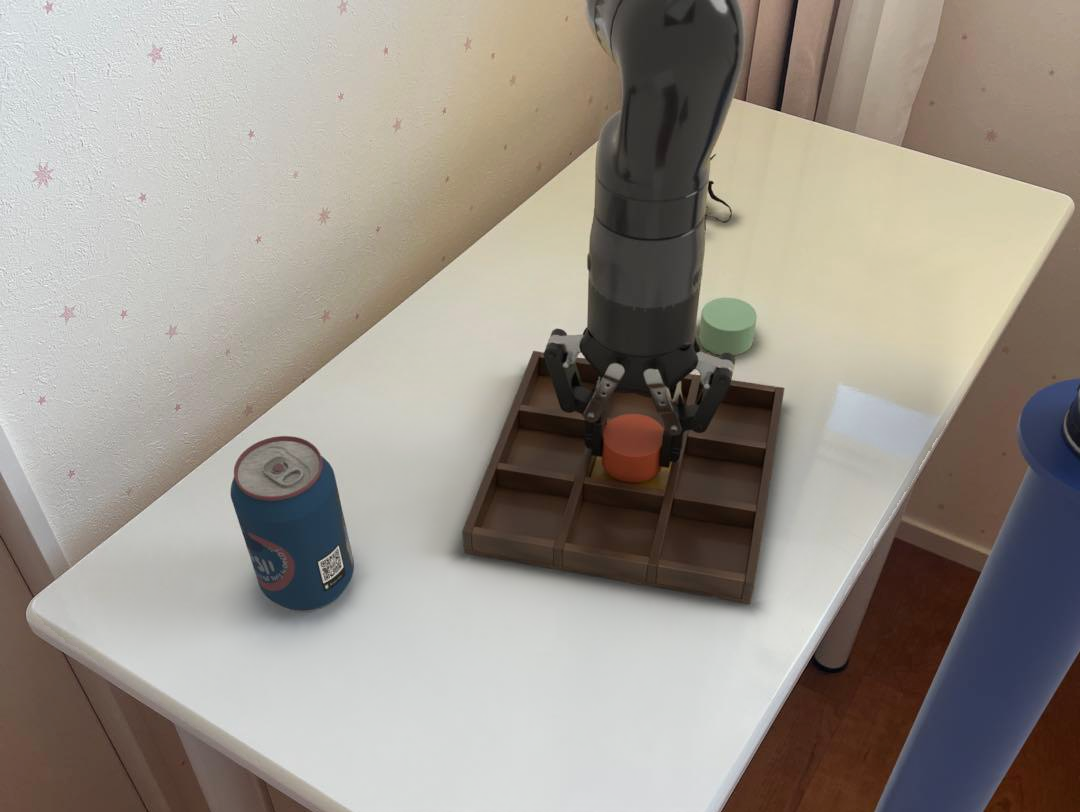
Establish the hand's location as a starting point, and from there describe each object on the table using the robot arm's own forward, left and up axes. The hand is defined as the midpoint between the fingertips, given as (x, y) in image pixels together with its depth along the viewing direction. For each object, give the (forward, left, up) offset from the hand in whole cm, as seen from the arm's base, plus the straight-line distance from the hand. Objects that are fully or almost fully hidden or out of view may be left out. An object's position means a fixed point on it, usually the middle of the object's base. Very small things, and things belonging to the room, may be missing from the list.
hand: (632, 453), depth 86 cm
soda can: (+21, +16, -3) cm, 26 cm away
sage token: (-5, -19, -3) cm, 20 cm away
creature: (+1, -38, -3) cm, 38 cm away
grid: (0, 0, -3) cm, 3 cm away
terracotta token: (0, 0, -1) cm, 1 cm away
